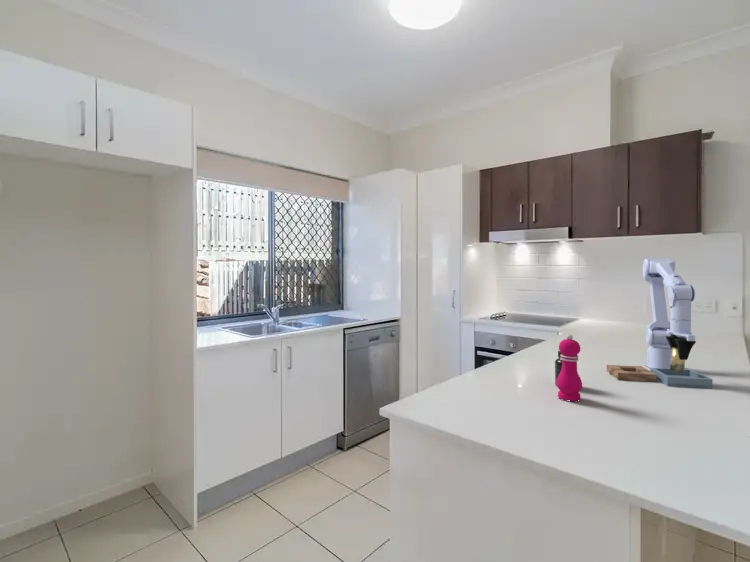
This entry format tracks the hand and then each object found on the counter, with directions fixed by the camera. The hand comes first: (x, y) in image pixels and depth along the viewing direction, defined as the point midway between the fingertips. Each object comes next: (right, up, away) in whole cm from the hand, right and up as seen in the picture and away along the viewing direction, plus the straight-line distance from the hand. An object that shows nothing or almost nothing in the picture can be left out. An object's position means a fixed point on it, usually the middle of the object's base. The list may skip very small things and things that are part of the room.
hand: (679, 358), depth 138 cm
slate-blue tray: (0, -8, 0) cm, 8 cm away
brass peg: (-1, -5, 0) cm, 5 cm away
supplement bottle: (-42, -9, -4) cm, 43 cm away
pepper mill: (-47, -10, -16) cm, 51 cm away
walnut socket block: (-13, -8, +7) cm, 17 cm away
